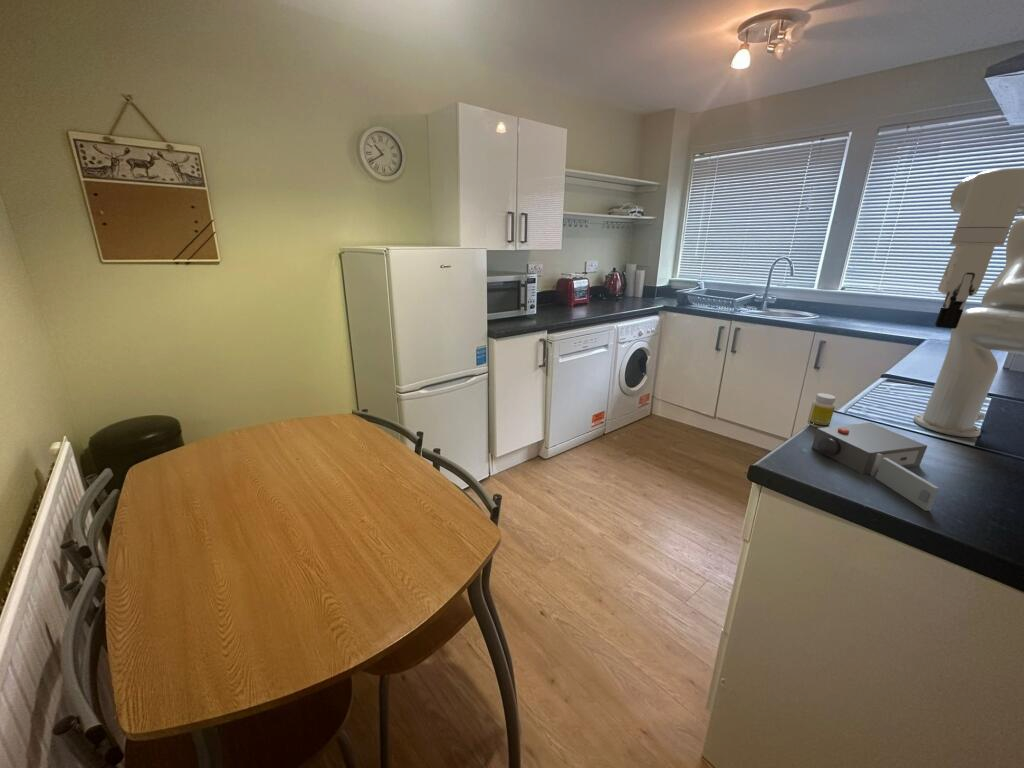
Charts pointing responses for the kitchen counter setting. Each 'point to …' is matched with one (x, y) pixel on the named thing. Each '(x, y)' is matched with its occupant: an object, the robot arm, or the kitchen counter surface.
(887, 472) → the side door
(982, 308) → the robot arm
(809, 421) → the supplement bottle
